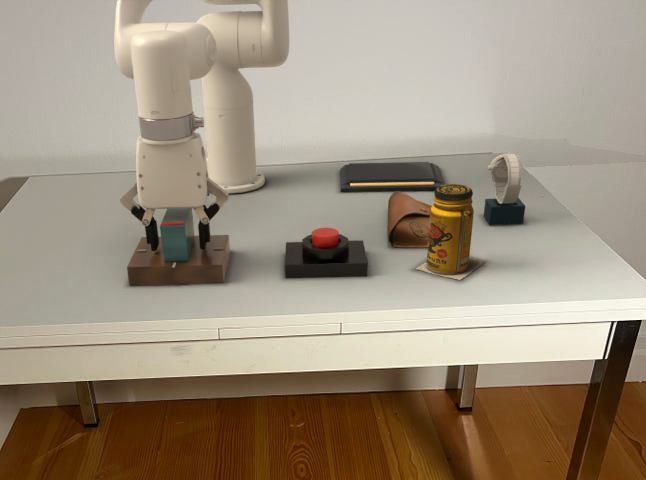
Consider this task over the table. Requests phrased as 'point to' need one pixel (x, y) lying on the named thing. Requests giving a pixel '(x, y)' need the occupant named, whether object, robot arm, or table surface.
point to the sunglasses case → (408, 221)
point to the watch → (505, 191)
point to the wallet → (390, 177)
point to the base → (180, 264)
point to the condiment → (451, 233)
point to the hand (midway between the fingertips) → (179, 246)
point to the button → (325, 237)
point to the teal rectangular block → (177, 234)
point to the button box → (325, 259)
